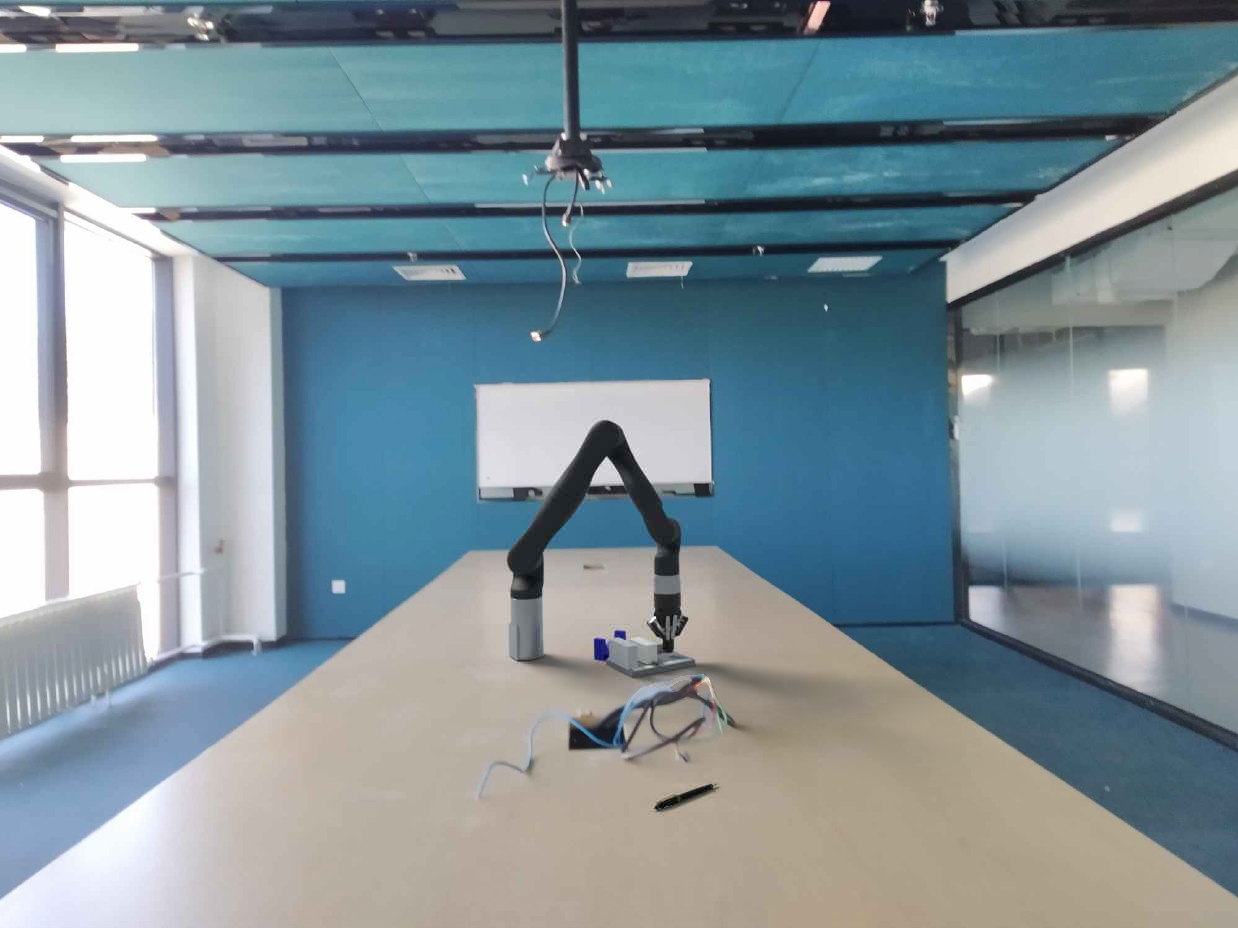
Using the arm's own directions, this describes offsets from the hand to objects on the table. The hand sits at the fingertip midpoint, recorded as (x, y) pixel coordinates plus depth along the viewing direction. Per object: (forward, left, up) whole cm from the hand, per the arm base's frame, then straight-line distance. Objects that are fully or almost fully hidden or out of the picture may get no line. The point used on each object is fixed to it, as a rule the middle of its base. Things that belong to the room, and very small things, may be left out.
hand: (668, 652), depth 197 cm
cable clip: (-11, +15, -3) cm, 19 cm away
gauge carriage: (-8, -1, -1) cm, 8 cm away
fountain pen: (-41, -67, -3) cm, 79 cm away
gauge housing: (-6, 0, -2) cm, 6 cm away
